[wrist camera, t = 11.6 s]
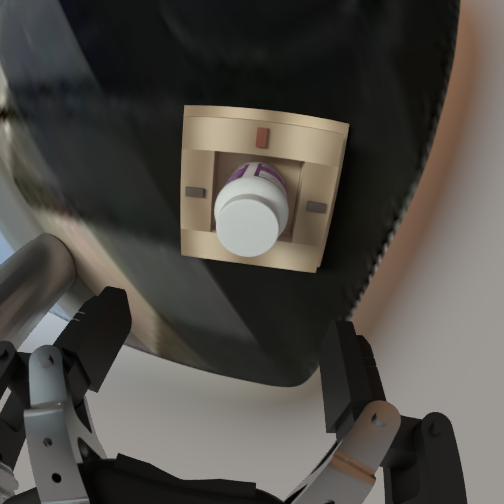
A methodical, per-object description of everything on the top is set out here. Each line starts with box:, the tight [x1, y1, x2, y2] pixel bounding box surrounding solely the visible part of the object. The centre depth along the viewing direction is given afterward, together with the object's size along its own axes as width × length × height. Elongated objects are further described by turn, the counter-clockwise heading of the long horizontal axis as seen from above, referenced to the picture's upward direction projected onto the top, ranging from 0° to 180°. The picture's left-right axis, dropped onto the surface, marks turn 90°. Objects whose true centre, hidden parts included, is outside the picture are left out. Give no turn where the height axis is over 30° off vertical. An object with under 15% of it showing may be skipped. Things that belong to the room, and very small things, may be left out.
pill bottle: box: [214, 162, 289, 257], centre depth 21 cm, size 5×5×10 cm
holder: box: [181, 106, 349, 273], centre depth 24 cm, size 15×15×4 cm
